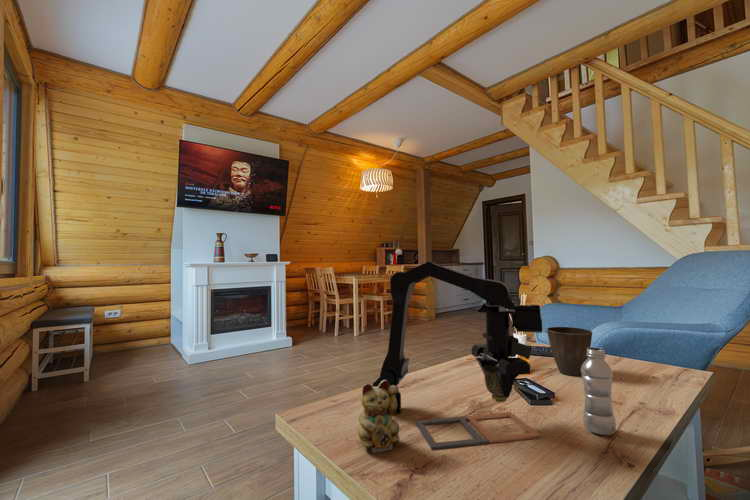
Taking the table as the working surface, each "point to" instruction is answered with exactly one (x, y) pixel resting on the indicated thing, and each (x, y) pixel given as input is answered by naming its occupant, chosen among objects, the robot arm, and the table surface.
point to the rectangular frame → (473, 432)
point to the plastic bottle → (598, 393)
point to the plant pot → (569, 348)
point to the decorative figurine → (378, 417)
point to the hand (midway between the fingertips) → (499, 392)
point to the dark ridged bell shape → (493, 383)
